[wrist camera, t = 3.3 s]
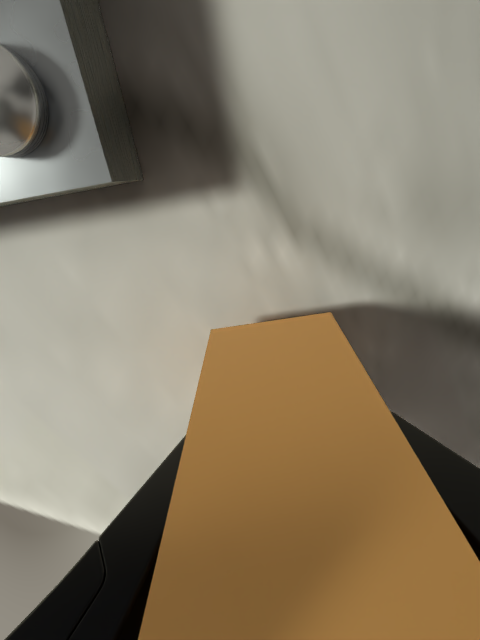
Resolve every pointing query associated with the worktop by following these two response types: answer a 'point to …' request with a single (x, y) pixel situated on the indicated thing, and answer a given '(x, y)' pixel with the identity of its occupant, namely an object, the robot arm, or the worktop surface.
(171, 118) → the worktop surface
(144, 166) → the worktop surface
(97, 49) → the grey square hole plate
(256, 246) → the worktop surface
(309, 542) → the tan square peg
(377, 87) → the worktop surface
